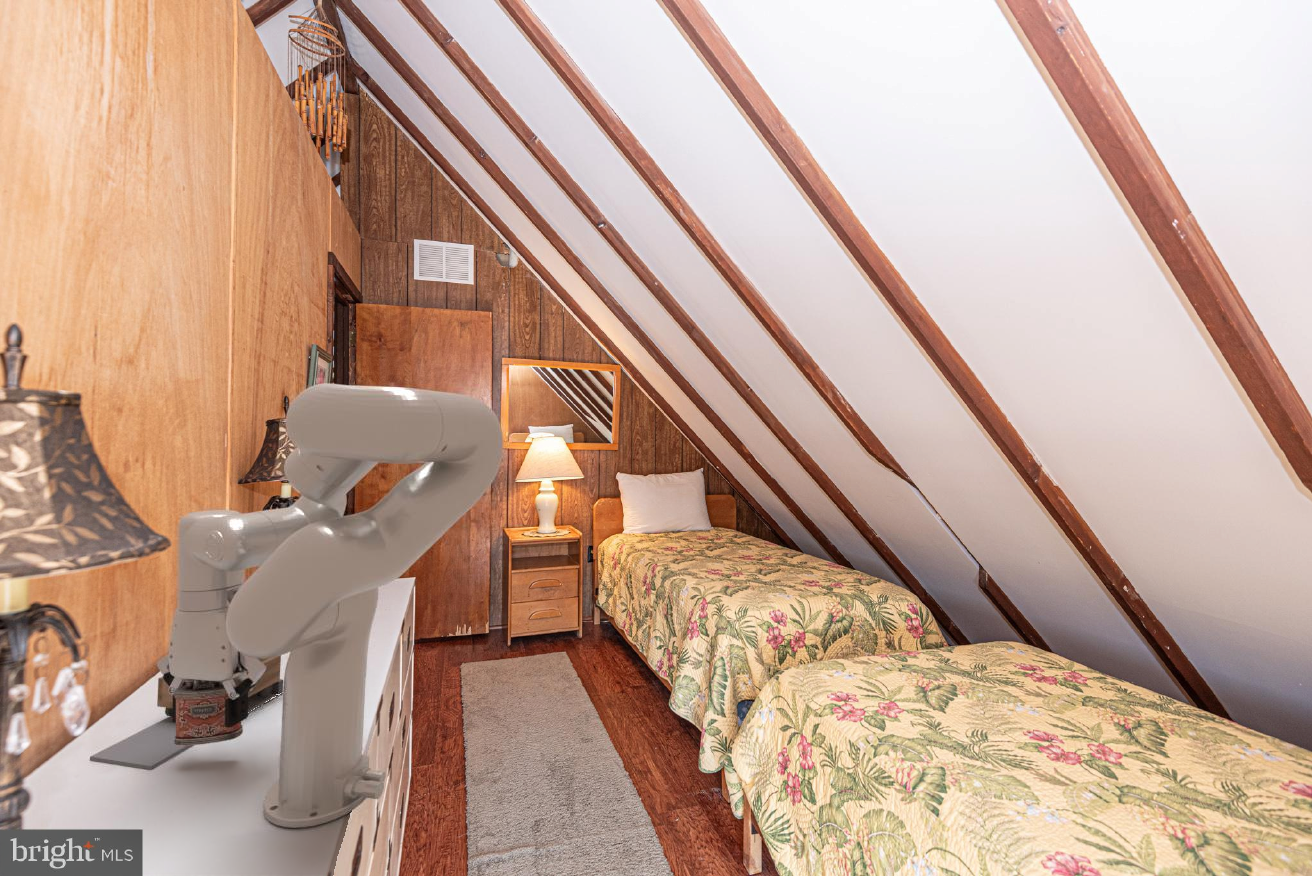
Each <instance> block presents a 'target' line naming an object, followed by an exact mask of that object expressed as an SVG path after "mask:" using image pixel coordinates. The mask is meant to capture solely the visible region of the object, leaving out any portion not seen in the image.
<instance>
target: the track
mask: <svg viewBox="0 0 1312 876" xmlns="http://www.w3.org/2000/svg"><path fill="white" fill-rule="evenodd" d="M283 688H284V679H281V678H280V680H279V681H277V682H275V683H273V688H272V691H271V693H270V694H269V695H268V696H267V697H261V696H258V695H257V693H255V694H253V695H251V696H250V697H248V712H250V711H251V710H253V709H254V708H256V707H258V706H260V705H262V704H263V703H265V702H266V701H268V700H270V699H271V698H272V697H275V696H276V694H280V693H282V692H283ZM276 697H277V696H276ZM265 704H266V703H265ZM262 706H263V705H262ZM260 707H261V706H260ZM258 708H259V707H258ZM253 711H254V710H253ZM250 713H251V712H250ZM175 735H176V723H173V721H172V716H167V717H165V718H163V719H162V720H159V721H157V722H156V723H154V724H152V725H150V726H148V727H146V728H143V729H142V730H140V731H138V732H136V733H134V734H132V735H130V736H128V737H126V738H124V739H122V740H121V741H118V742H116V743H115V744H112V745H110V746H109V747H106V748H104V749H103V750H100V751H98V752H96V753H94V754H92V755H91V756H89V761H93V762H100V763H106V764H111V763H115V764H114V765H118V764H119V766H125V767H132V768H137V769H138V768H139V769H145V770H149V769H150V770H154V769H155V768H157V767H159V766H160V765H162V764H164V763H166V762H168V761H169V760H171V759H173V758H174V757H176V756H177V755H179V754H181V753H182V752H183V753H184V752H185V751H186V750H188V749H189V748H191V747H193V746H194V745H182V746H178V745H175V744H174V737H175ZM150 770H149V771H150Z"/></svg>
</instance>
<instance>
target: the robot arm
mask: <svg viewBox="0 0 1312 876" xmlns="http://www.w3.org/2000/svg"><path fill="white" fill-rule="evenodd" d="M285 416H286V418H285V429H286V433H287V437H288V438H289V440H290V441H291V443H292V445H294V446H295V447H296V448H295V449H293V450H292V452H290V454H289V455H288V456H287V457H286V459H285V461H284V465H283V471H284V475H285V478H286V480H287V481H288V483H289V484H290V486H291V487H292V488H293V489H294V491H296V492H297V493H299V495H301V496H300V497H299V498H298V499H297V500H296V501H295V502H294V503H293V504H291V505H289V506H288V507H283V508H272V509H265V510H259V511H252V512H245V513H241V512H239V511H238V510H237V511H236V510H232V509H216V510H215V509H212V510H211V509H209V510H199V511H194V512H189V513H187V514H185V515H183V516H182V517H181V518H180V519H179V522H178V525H177V526H178V527H177V604H176V605H177V608H176V609H175V611H174V615H173V619H172V622H171V623H172V625H171V630H170V635H169V636H170V638H169V646H168V648H169V649H168V653H167V654H165V655H164V656H163V657H162V658H160V659H158V661H157V662H156V666H157V668H158V670H159V671H160V673H161V675H162V677H163V679H164V681H165V682H166V683H167V684H168V686H169V689H168V691H169V693H170V694H174V691H175V689H177V688H178V687H181V686H184V685H186V682H185V679H191V680H201V681H215V682H222V683H223V685H224V687H225V689H226V691H227V693H228V695H229V697H230V698H228V699H226V701H225V727H228V728H231V727H232V726H234V725H236V724H238V723H239V722H241V723H242V721H244V720H246V719H247V718H248V716H249V713H248V692H249V691H251V690H252V689H253V687H254V686H255V685H256V684H257V682H258V681H259V678H260V677H261V676H262V675H263V673H264V672H265V670H266V666H265V665H264V664H263V663H262V662H261V661H260V660H258V659H266V658H273V657H277V656H280V655H281V656H282V655H286V654H288V653H289V655H288V658H287V662H286V666H285V670H284V676H283V694H282V710H281V711H282V714H281V732H280V733H281V736H280V750H279V751H280V756H279V775H278V781H277V782H276V783H275V784H274V785H273V786H272V787H271V788H270V789H269V790H268V791H267V792H266V795H265V797H264V800H263V815H264V817H265V818H266V820H267V821H268V822H270V823H271V824H274V825H275V826H281V827H284V828H291V829H292V828H295V829H296V828H308V827H313V826H314V827H315V826H318V825H323V824H326V823H329V822H331V821H334V820H337V819H339V818H341V817H343V816H345V815H347V814H349V813H351V812H352V811H353V810H355V809H356V808H357V807H359V806H361V804H363V803H364V801H365V800H366V799H373V800H379V798H381V796H382V795H383V792H384V788H385V783H384V781H385V779H386V777H387V774H386V773H387V772H385V771H380V770H375V771H374V770H371V768H370V755H365V754H363V742H364V741H363V740H364V724H365V723H364V721H365V702H366V699H365V698H366V682H367V680H366V679H367V668H368V667H367V666H368V652H369V645H370V644H369V641H370V638H371V637H370V635H371V631H372V626H373V622H374V619H375V614H376V613H377V607H378V600H379V588H380V587H383V586H385V585H387V584H390V583H392V582H394V581H395V580H397V579H398V578H400V577H401V576H403V574H404V573H406V571H408V570H409V569H410V568H411V567H412V566H413V565H414V564H415V563H416V562H417V560H419V559H420V558H421V557H422V556H423V555H424V554H426V552H428V551H429V550H430V548H431V547H432V546H433V545H434V544H435V543H437V541H439V539H441V538H442V536H443V535H444V534H446V532H447V531H449V529H450V528H452V526H454V524H456V523H457V522H458V521H459V520H460V519H461V518H462V517H463V516H464V515H465V514H466V513H467V512H468V511H470V509H472V508H473V506H475V505H476V504H477V502H479V500H480V499H481V498H482V497H483V496H484V495H485V493H486V492H487V491H488V489H489V488H490V487H491V485H492V483H494V480H495V478H496V476H497V474H498V473H499V469H500V467H501V462H502V459H503V453H504V452H503V451H504V436H503V435H504V434H503V430H502V426H501V423H500V420H499V418H498V416H497V414H496V413H495V412H494V410H493V409H492V408H491V407H490V406H489V405H488V404H487V403H485V402H483V401H482V400H480V399H477V398H475V397H472V396H470V395H469V396H468V395H465V394H461V393H454V392H448V391H447V392H445V391H437V390H436V391H435V390H430V389H429V390H428V389H420V388H414V387H413V388H412V387H402V386H401V387H400V386H379V385H375V386H374V385H347V384H339V383H329V382H328V383H327V382H325V383H318V384H314V385H312V386H309V387H308V388H305V389H304V390H303V391H301V392H300V393H299V394H298V395H297V396H296V397H295V398H294V399H293V400H292V402H291V403H290V405H289V407H288V409H287V413H286V415H285ZM379 463H384V464H397V465H398V464H399V465H400V464H401V465H403V464H423V463H424V464H423V465H421V466H420V467H418V468H417V469H415V470H414V471H412V472H411V473H409V474H407V475H406V476H405V477H403V478H402V479H401V480H399V481H398V482H397V483H396V484H395V485H394V486H393V487H392V489H390V491H389V492H388V493H387V494H385V496H383V497H382V498H381V499H380V500H379V501H378V502H377V503H375V504H374V505H373V506H371V507H370V508H369V509H367V510H364V511H360V512H358V513H357V512H356V513H353V514H347V515H344V514H345V511H346V507H347V503H348V502H347V501H348V500H347V494H348V492H350V490H351V489H353V488H354V487H355V486H356V485H357V484H358V483H359V482H360V481H361V480H362V479H363V478H365V476H366V475H368V473H370V471H372V469H374V467H376V466H377V465H378V464H379ZM255 567H257V569H256V570H255V571H254V572H253V573H252V574H250V576H249V577H248V578H247V579H246V580H245V570H247V569H252V568H255ZM257 658H258V659H257ZM235 669H236V673H235V674H233V670H235ZM245 671H248V672H249V674H248V675H247V674H246V672H245ZM235 678H237V679H238V681H239V683H240V684H239V685H238V686H236V684H235V682H234V680H233V679H235ZM194 682H195V681H194ZM172 721H173V723H176V698H175V697H174V695H173V713H172Z"/></svg>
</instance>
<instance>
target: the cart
mask: <svg viewBox="0 0 1312 876" xmlns="http://www.w3.org/2000/svg"><path fill="white" fill-rule="evenodd" d="M281 657H282V655H280V656H277V657H273V658H266V659H258V658H257V659H258V660H260V661H261V662H262V663H263V664H264V665H265V666H266V670H265V672H264V673H263V675H262V676H261V677H260V678H259V681H258V682H257V684H256V685H255V686H254V687H253V689H252V690H251V691H249V692H248V697H250V696H251V695H253V694H255V693H257V695H258V696H261V697H267V696H268V695H269V694H270V693H271V691H272V688H273V683H275V682H277V681H279V680H280V679H281V665H282V664H281V659H282V658H281ZM245 672H246V674H247V675H248V674H249V672H248V671H245ZM157 680H158V681H157V701H156V702H157V704H156V706H157V707H158V708H165V709H164V714H165V715H166V716H167V717H170V716H172V713H173V695H174V694H170V693H169V691H168V689H169V686H168V684H167V683H166V682H165V681H164V679H163V676H161V677H159V678H158V679H157ZM233 680H238V679H237V678H235V679H233ZM194 683H196V681H195V682H194Z"/></svg>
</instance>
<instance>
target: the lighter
mask: <svg viewBox="0 0 1312 876" xmlns="http://www.w3.org/2000/svg"><path fill="white" fill-rule="evenodd" d="M235 673H236V669H235V670H233V674H235ZM194 681H196V683H194ZM185 682H186V685H184V686H181V687H178V688H177V689H175V691H174V697H175V698H176V735H175V737H174V744H175V745H178V746H182V745H193V746H197V745H198V746H199V745H206V744H208V745H209V744H215V743H220V742H226V741H231V740H235V739H238V737H241V735H242V734H243V733H244V726H243V724H242V721H241V722H239V723H238V724H236V725H234V726H232V727H231V728H228V727H225V701H226V699H228V698H230V697H229V695H228V693H227V691H226V689H225V687H224V685H223V683H222V682H215V681H201V680H191V679H185ZM234 682H235V684H236V686H238V685H239V684H240V683H239V681H238V680H234Z"/></svg>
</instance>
